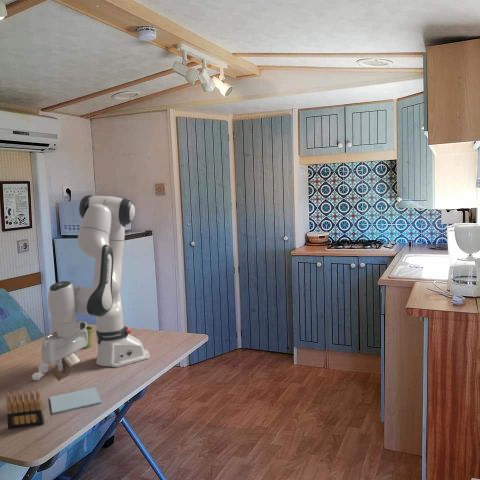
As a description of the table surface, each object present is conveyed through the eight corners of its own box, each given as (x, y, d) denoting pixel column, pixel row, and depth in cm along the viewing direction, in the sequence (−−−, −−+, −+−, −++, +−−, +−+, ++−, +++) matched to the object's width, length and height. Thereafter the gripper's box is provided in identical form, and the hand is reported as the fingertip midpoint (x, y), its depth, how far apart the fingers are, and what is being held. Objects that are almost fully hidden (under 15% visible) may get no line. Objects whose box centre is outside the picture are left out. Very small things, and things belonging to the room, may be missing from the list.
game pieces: (40, 371, 206) (40, 363, 206) (49, 370, 206) (48, 363, 206) (31, 382, 194) (30, 374, 194) (40, 381, 195) (39, 373, 194)
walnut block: (59, 367, 178) (72, 351, 175) (67, 376, 177) (80, 360, 174) (50, 371, 174) (63, 355, 171) (58, 381, 173) (71, 365, 170)
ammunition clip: (7, 429, 156) (3, 393, 155) (9, 426, 158) (5, 391, 157) (43, 424, 158) (39, 389, 157) (44, 422, 160) (40, 386, 158)
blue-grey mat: (95, 388, 184) (95, 387, 184) (101, 403, 171) (101, 401, 171) (50, 398, 178) (49, 396, 178) (52, 414, 165) (52, 412, 165)
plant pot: (70, 347, 234) (69, 329, 233) (89, 342, 240) (87, 324, 239) (79, 351, 227) (77, 333, 226) (98, 346, 234) (96, 328, 233)
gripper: (50, 338, 161) (53, 379, 163) (89, 321, 180) (92, 357, 182) (34, 337, 163) (38, 377, 165) (75, 320, 182) (78, 356, 184)
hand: (67, 366), depth 174 cm, fingers closed on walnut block, 4 cm apart
